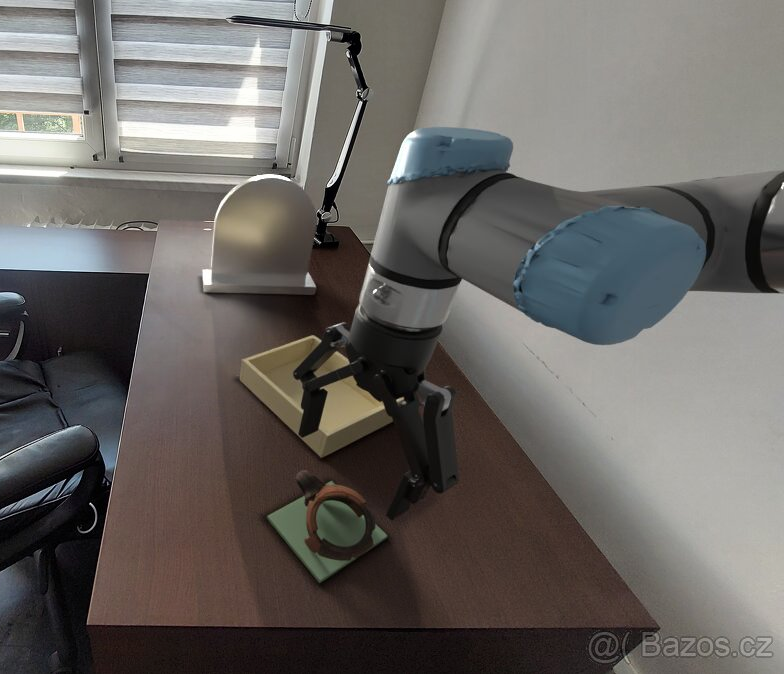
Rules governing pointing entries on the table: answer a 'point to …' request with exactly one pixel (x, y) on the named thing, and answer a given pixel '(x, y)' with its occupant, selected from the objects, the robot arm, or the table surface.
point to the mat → (322, 532)
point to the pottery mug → (321, 492)
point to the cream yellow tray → (344, 399)
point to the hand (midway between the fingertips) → (348, 469)
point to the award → (263, 239)
